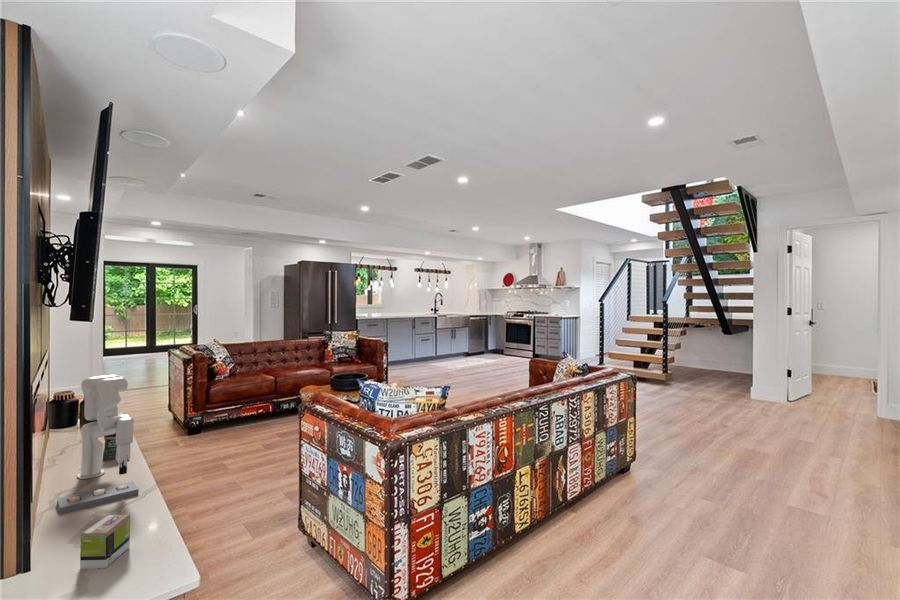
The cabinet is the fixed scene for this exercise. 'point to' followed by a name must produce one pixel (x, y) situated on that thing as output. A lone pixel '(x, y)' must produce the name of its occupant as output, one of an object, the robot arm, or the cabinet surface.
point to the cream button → (99, 492)
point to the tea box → (104, 541)
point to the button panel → (96, 497)
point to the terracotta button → (74, 498)
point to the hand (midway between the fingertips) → (122, 473)
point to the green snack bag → (110, 447)
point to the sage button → (121, 487)
